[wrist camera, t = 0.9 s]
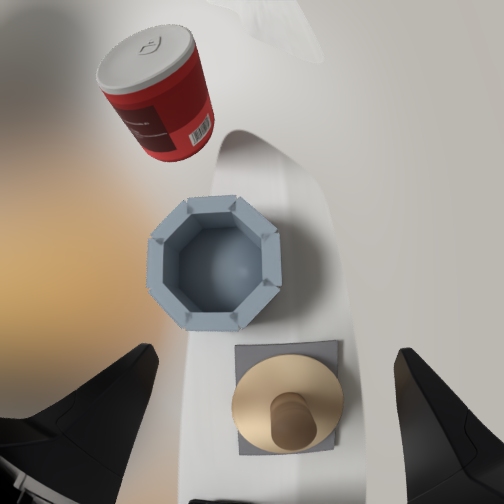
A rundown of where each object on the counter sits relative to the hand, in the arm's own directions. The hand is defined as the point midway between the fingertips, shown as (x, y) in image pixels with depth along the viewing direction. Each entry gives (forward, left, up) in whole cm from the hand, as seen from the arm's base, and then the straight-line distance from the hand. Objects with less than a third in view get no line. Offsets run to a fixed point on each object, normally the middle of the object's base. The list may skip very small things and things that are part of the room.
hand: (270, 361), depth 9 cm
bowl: (+5, +4, -12) cm, 14 cm away
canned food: (+19, +8, -13) cm, 24 cm away
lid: (-6, -1, -12) cm, 13 cm away
